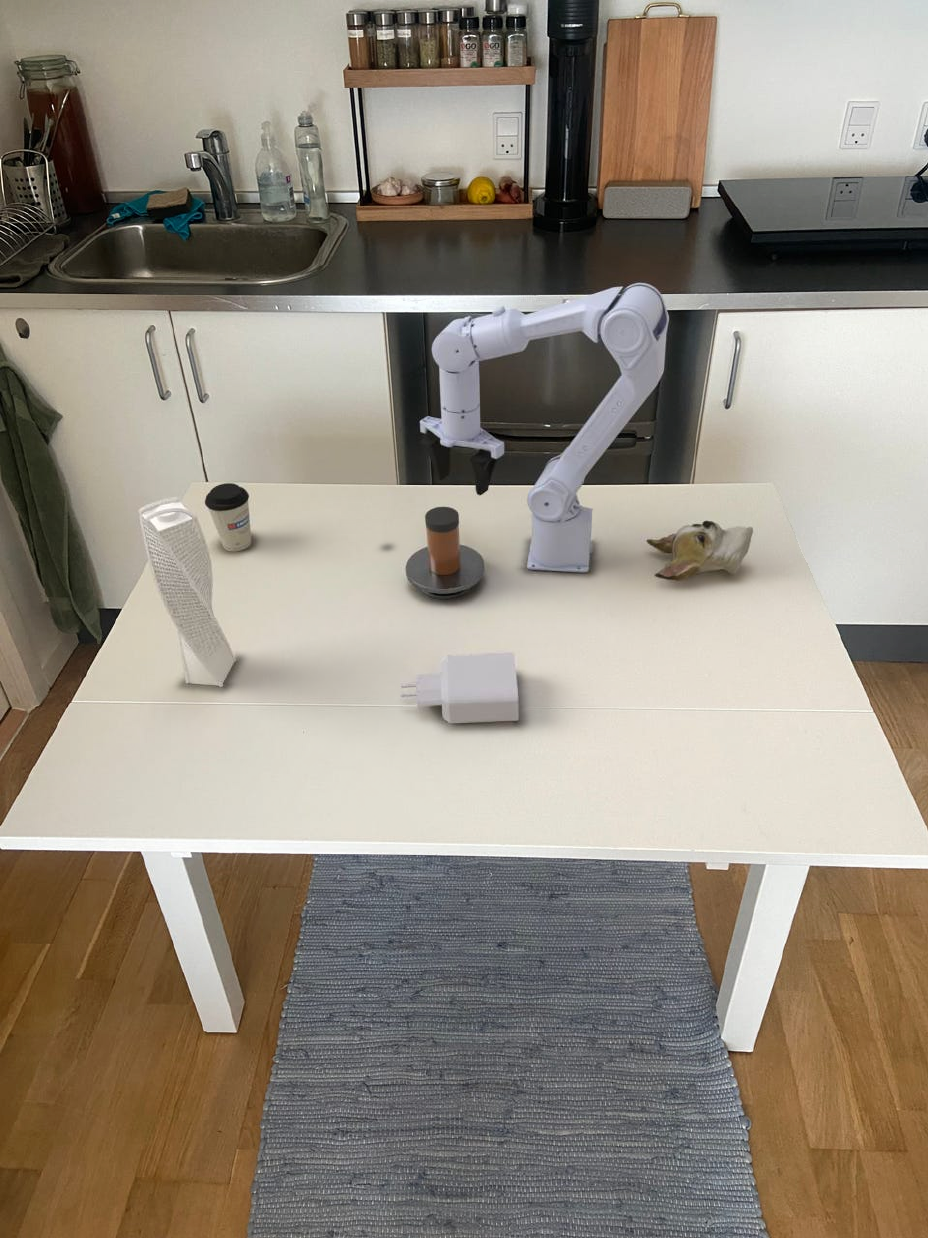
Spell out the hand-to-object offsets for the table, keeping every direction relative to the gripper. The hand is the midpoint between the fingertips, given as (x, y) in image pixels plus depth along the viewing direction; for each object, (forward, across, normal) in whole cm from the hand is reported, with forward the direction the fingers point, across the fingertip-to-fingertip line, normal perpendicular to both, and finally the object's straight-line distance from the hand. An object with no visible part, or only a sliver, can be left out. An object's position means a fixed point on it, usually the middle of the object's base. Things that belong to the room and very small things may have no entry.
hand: (462, 484), depth 145 cm
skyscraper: (+11, -9, -46) cm, 48 cm away
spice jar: (+7, +5, -11) cm, 14 cm away
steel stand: (+10, +5, -10) cm, 15 cm away
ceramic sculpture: (+10, +34, +14) cm, 38 cm away
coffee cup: (+11, -30, -22) cm, 39 cm away
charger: (+10, +22, -30) cm, 39 cm away
